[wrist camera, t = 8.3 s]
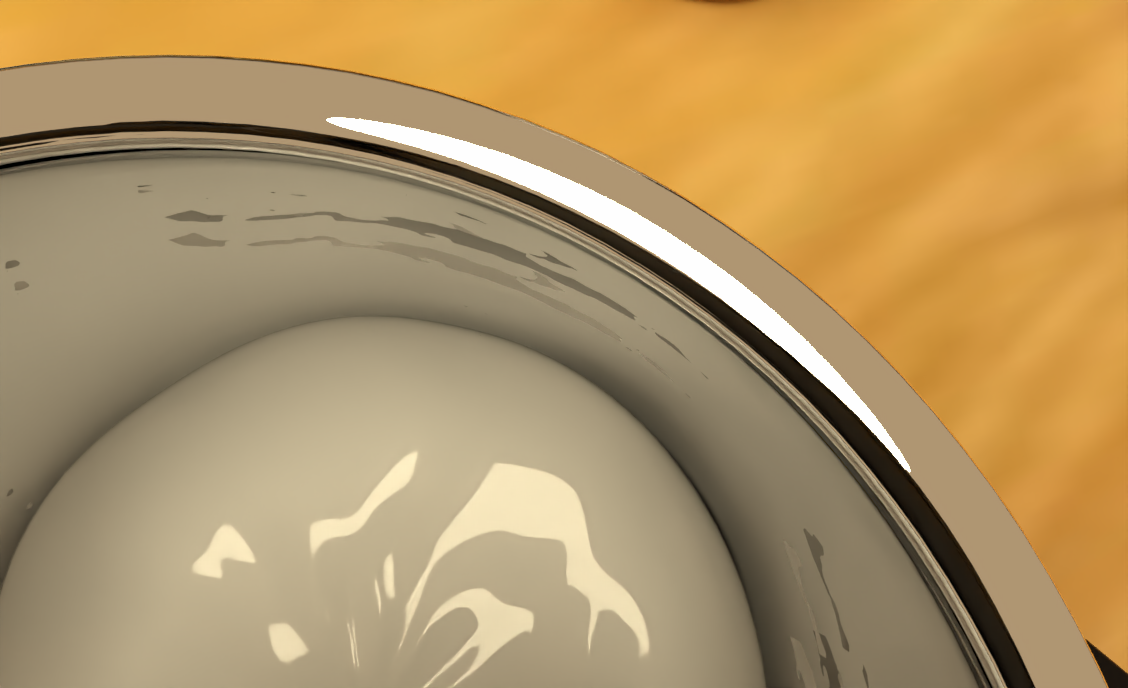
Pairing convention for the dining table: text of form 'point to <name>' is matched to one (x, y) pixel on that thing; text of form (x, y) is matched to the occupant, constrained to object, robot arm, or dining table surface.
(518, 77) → the dining table surface
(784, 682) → the beer glass
